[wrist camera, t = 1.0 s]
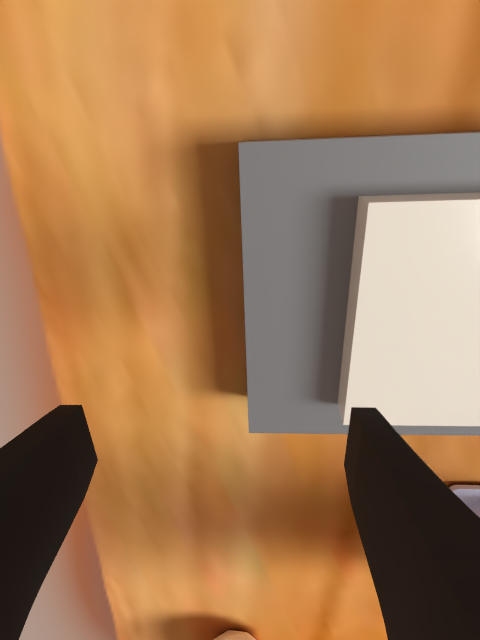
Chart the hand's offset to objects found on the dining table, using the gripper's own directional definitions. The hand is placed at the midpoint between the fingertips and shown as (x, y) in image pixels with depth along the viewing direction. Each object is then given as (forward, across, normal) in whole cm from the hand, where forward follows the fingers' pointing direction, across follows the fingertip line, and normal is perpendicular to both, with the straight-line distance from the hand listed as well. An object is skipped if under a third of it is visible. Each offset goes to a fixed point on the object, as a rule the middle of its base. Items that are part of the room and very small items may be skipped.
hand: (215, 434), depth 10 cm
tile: (+7, -8, 0) cm, 11 cm away
